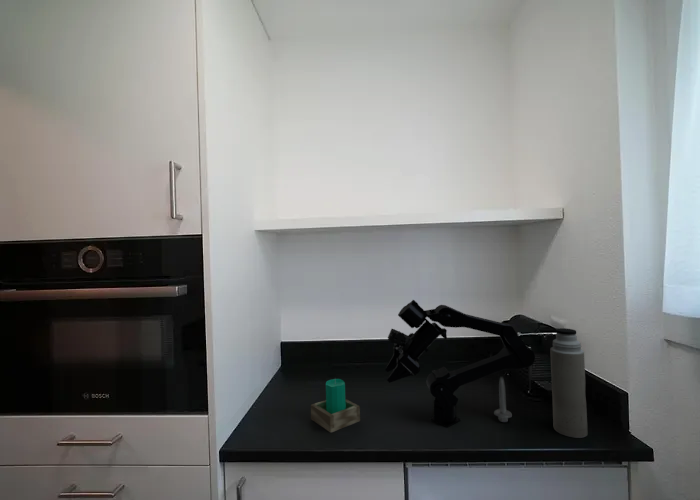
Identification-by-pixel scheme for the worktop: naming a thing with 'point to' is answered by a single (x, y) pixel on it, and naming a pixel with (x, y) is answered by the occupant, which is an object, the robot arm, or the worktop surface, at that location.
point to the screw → (502, 404)
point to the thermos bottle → (568, 384)
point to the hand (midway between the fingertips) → (387, 375)
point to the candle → (335, 396)
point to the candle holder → (335, 416)
